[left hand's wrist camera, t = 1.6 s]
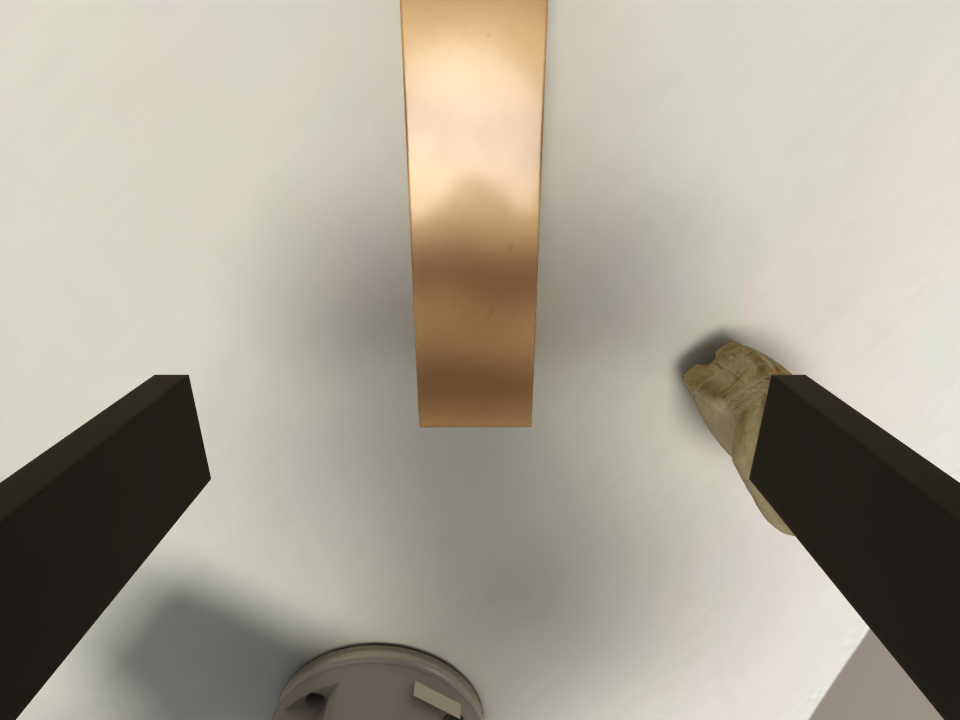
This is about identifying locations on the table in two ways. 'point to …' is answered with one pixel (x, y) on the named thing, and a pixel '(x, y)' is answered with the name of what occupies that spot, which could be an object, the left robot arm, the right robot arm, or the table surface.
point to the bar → (474, 203)
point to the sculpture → (737, 408)
